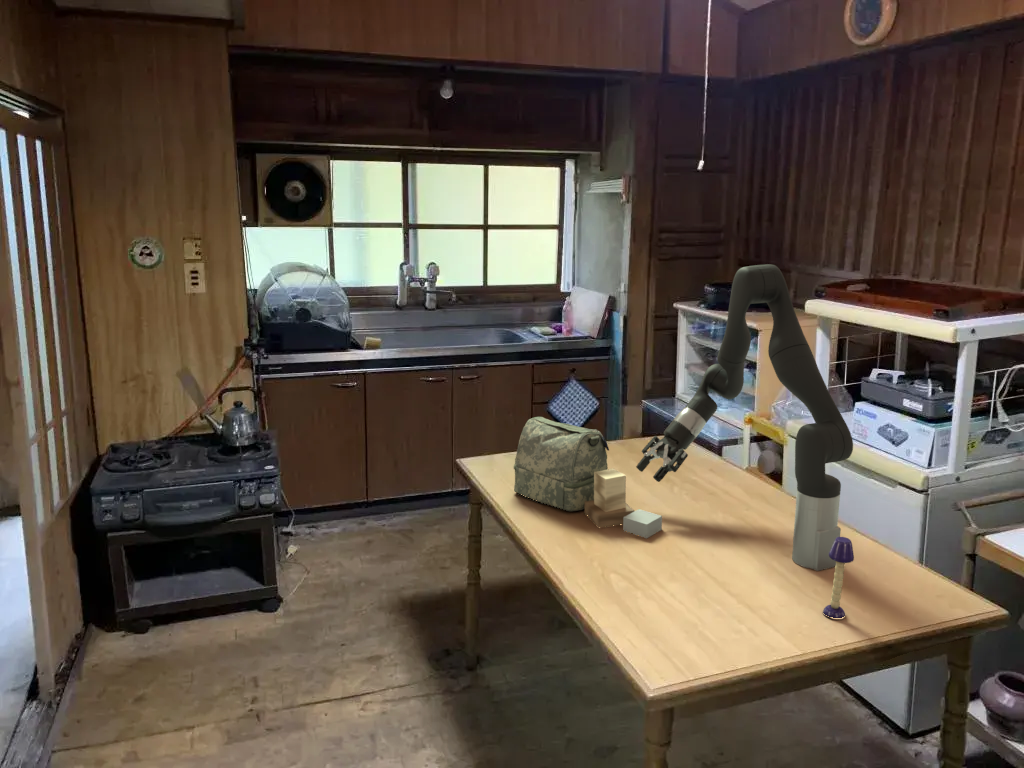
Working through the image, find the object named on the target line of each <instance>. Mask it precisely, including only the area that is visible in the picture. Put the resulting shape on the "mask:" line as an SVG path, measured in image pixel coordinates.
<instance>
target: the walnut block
mask: <svg viewBox="0 0 1024 768" xmlns="http://www.w3.org/2000/svg"><path fill="white" fill-rule="evenodd" d="M634 511H636V510H635V509H634V508H632V507H631V506H630V505H629V504H628V503H627V502H626V508H623V509H618V510H613V511H608V512H605V511H603V510H602V509H600V508H599V507H598V506H596V505H595V504H594V500H592V501H585V509H584V515H585V514H586V515H588V517H589V518H590V519H591V520H592V521H593V522H594V523H595V524H596V525H597V526H598V527H605V526H612V527H614V526H613V525H620V524H623V517H625V516H627V515H629V514H630V513H632V512H634ZM586 515H585V516H586ZM588 517H587V518H588ZM589 518H588V519H589ZM590 519H589V520H590ZM591 520H590V521H591ZM592 521H591V522H592ZM593 522H592V523H593ZM594 523H593V524H594ZM595 524H594V525H595ZM596 525H595V526H596ZM597 526H596V527H597ZM620 526H621V525H620ZM598 527H597V528H598ZM605 528H606V527H605Z"/></svg>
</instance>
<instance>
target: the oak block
mask: <svg viewBox="0 0 1024 768" xmlns="http://www.w3.org/2000/svg"><path fill="white" fill-rule="evenodd" d="M626 481H627V475H626V474H625V473H623V472H620V470H618V469H615V468H609V469H607V470H603V471H597V472H594V504H595V505H596V506H598V507H599V508H600V509H602V510H603V511H605V512H608V511H613V510H618V509H623V508H626V503H627V502H626V498H627V496H626V495H627V486H626V485H627V482H626Z"/></svg>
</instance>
